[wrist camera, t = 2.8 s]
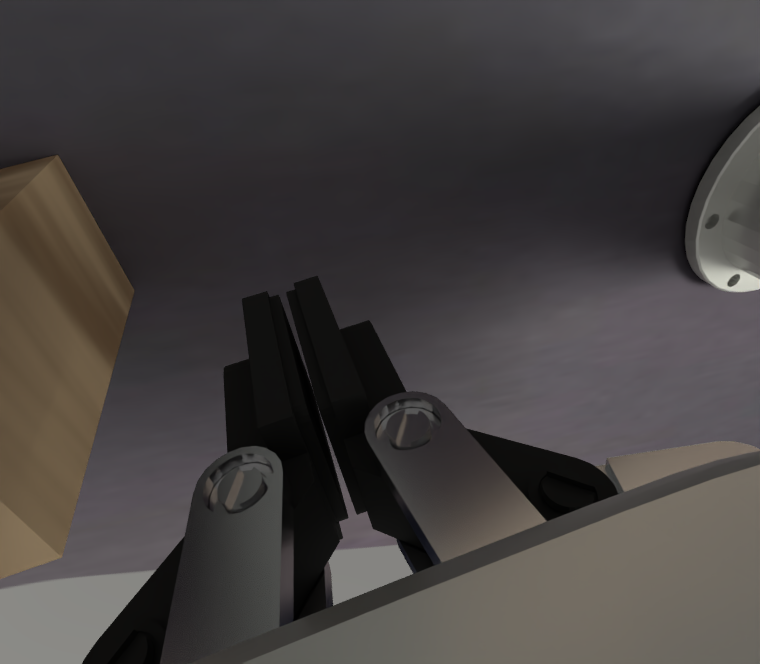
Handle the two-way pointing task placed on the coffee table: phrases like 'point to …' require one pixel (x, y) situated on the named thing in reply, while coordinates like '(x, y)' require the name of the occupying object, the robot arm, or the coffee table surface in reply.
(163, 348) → the coffee table surface
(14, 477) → the brown wooden block
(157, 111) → the coffee table surface
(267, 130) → the coffee table surface
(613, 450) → the coffee table surface
